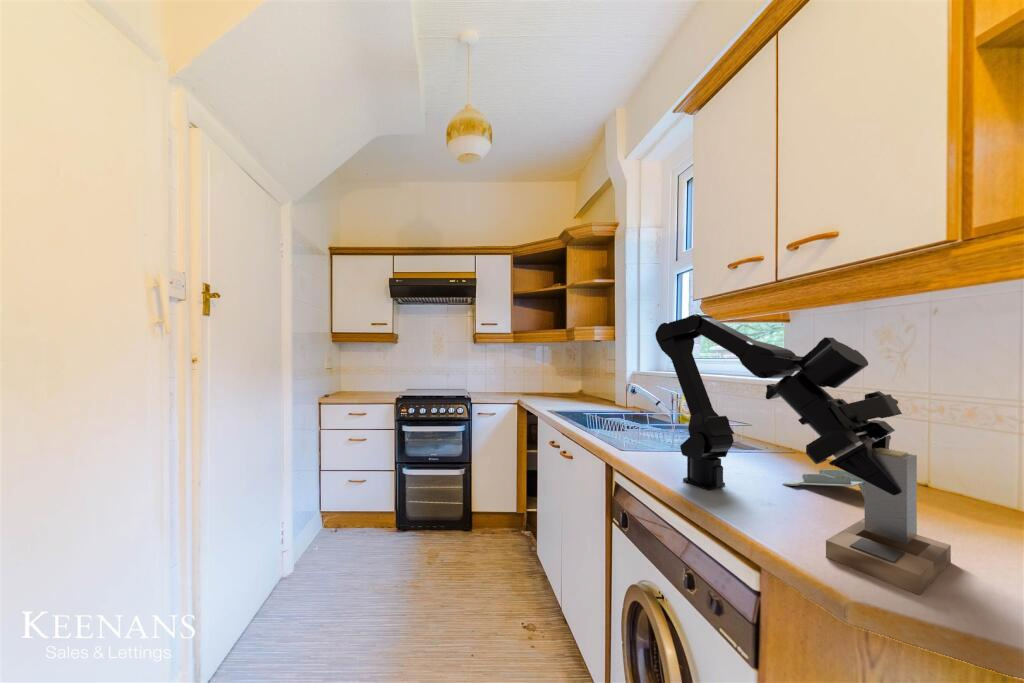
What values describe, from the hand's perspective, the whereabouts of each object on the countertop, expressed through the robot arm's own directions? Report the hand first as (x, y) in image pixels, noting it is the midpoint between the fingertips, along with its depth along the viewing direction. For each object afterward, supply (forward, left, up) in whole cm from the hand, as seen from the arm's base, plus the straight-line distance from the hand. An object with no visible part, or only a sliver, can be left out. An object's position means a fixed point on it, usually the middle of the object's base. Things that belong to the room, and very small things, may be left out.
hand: (903, 490), depth 54 cm
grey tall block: (-1, 0, -7) cm, 7 cm away
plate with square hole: (-1, -2, -10) cm, 10 cm away
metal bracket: (-17, +26, -11) cm, 33 cm away
